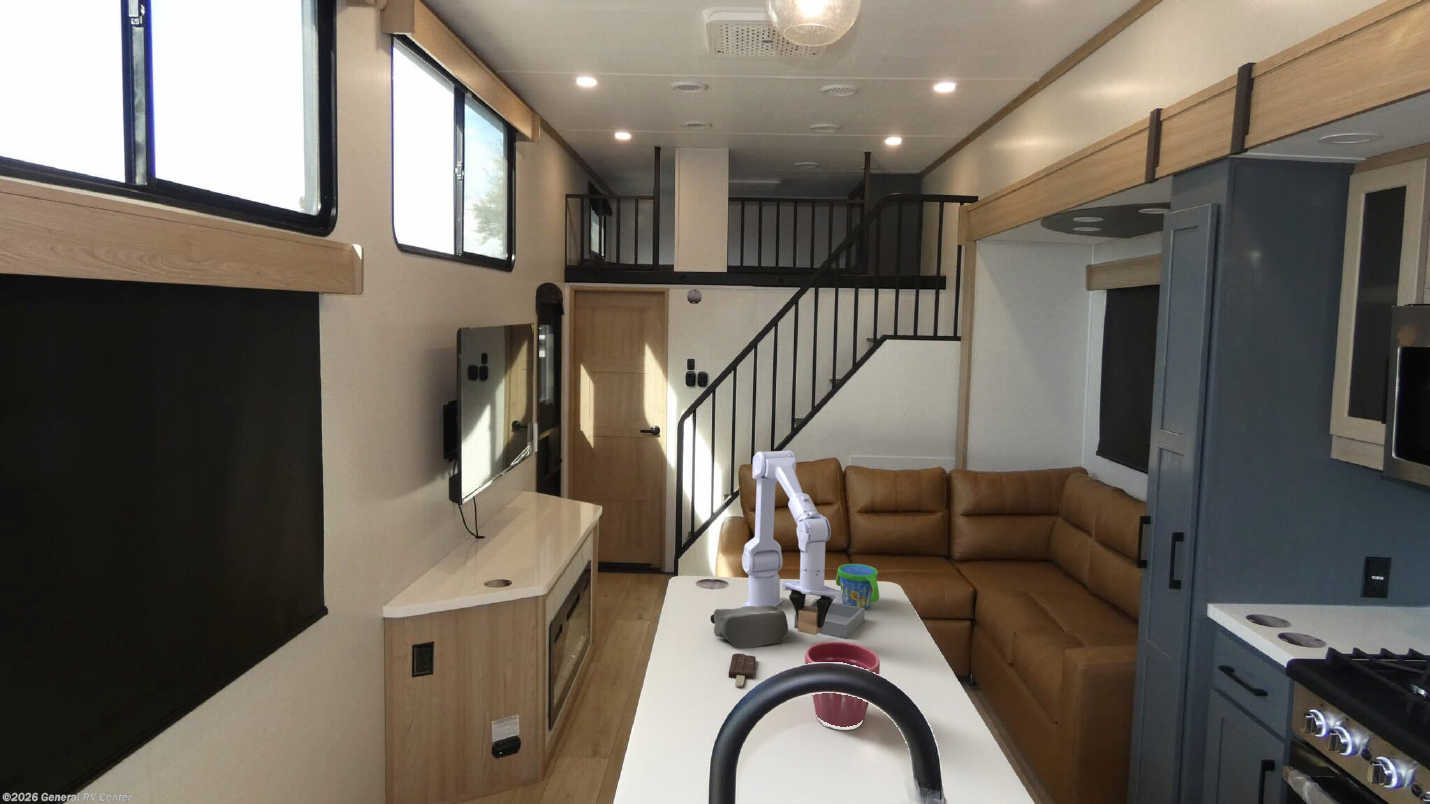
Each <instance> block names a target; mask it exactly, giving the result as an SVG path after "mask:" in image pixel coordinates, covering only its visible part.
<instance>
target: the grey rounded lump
mask: <svg viewBox="0 0 1430 804" xmlns="http://www.w3.org/2000/svg"><path fill="white" fill-rule="evenodd" d="M710 623H712V624H714V627H713V634H714V636H715V637H718V638H721V639H726V640H727V641H728V642H730V643H731V644H732V645H733V646H734V647H737V648H739V649H753V648H757V647H758V648H759V647H762V646H767V645H777V644H779V643H780V642H781V641H783V640H784V639H785V638H786V636H787V635H788V632H789V625H788V619H787V615H786V613H785V611H784V610H783V609H780V608H779V607H778V606H776V607H774V606H769V605H763V606H744V607H742V606H740V607H737V608H718V609H717V608H716V609H715V610H714V611H713V614H711V616H710Z"/></svg>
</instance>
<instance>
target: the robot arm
mask: <svg viewBox="0 0 1430 804" xmlns="http://www.w3.org/2000/svg"><path fill="white" fill-rule="evenodd" d="M796 459H797V458H796V456H795V454H794V452H793V451H792V450H790V449H789V450H788V449H787V450H777V451H757V452H756V454H755V455H754V456H753V457H752V479H754V480H755V481H756V492H755V493H756V496H755V518H754V519H755V520H754V521H755V522H754V524H755V525H754V537H753V538H751V539H750V540H749V541H747V542H746V543H745V544H744V546H743V554H742V557H741V564H742V569H743V570H744V572H745V573H746V574H747V575H748V584H747V585H748V587H747V591H748V593H747V601H746V602H744V603H743V604H741V607H744V606H763V605H769V606H774V607H778V606H779V605H780V604H782V603H783V602H784V601H783V600H782V599H780V597H781V596H780V592H781V590H782V591H785V592H787V591H790V593H789V595H788V598H789V600H790V601H791V604H792V605H793V608H794V611H795V614H796V616H797V620H798V613H799V610H801V609H802V608H803V607H805V606H806V598H807V595H812V596H815V597H816V596H817V597H819V598H817V599H818V600H817V608H818V628H821V627H823V626H824V621H825V618H826V614H827V612H828V609H829V607H830V605H831V603H832V602H834V600H835V601H836V602H841V601H842V591H841V589H840V590H838V589H836V588H834V587H830V586H827V585H825V569H826V568H825V566H826V564H825V563H826V562H825V561H826V542H829V540H830V538H831V533H832V532H831V525H830V522H829V519H828V518H827V517H826V516H823V515H822V513H819V512H818V510H817V508H816V506H815V504H814V502H813V500H812V498H811V496H810V495H809V494H808V493H805V492H804V493H803V490H802V487H801V484H800V481H799V479H798V476H797V473H796V470H797V460H796ZM777 483H779V484H780V485H781V487H782V488H783V490H784V492H785V494H786V495H787V498H788V499H789V501H788V503H787V505H788V508H789V511H790V513H791V515H792V517H793V519H794V521H795V524H796V526H797V527H796V536H797V539H798V549H799V550H800V561H799V562H800V564H799V565H800V566H799V581H795V580H793V581H792V580H786V579H785V580H784V581H782V582H781V579H780V575H779V573H778V572H779V571H780V570H781V569H782V567H783V563H784V562H783V555H782V546H781V545H780V543H779V542H778V541H777V540H776V539H774V530H775V529H774V528H775V527H774V526H775V508H776V507H775V506H776V505H775V503H776V484H777Z"/></svg>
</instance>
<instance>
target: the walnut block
mask: <svg viewBox="0 0 1430 804" xmlns="http://www.w3.org/2000/svg"><path fill="white" fill-rule="evenodd" d="M807 605H808V604H807ZM807 605H806V604H805V607H803V608H802V609H801V610H799V613H798V629H797V632H799V633H803V634H808V635H811V636H817V635H818V634H820V633H819V632H820V631H821V630H823V627H821V628H818V608H817V607H812V606H807Z"/></svg>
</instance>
